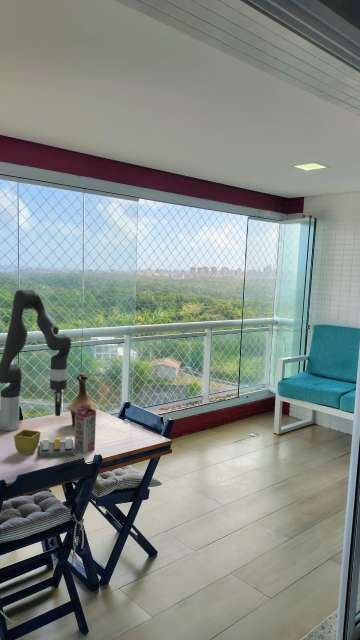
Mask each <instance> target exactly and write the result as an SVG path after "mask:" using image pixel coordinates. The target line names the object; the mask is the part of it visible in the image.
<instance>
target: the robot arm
mask: <svg viewBox="0 0 360 640" xmlns="http://www.w3.org/2000/svg"><path fill="white" fill-rule="evenodd" d="M24 310H34V311H35V312H36V314H37V317H36V324H37V326H38V329H39V330H40V331H41V333H42V334H43V336H44V339H45V341H46V345H47V347H48V349H50V350H51V351H58V352H57V354H54V355H52V356H51V358H50V371H49V389H50V390H53V391H54V392H53V403H54V408H55V409H54V415H55V416H56V417H60V416H61V408H62V403H63V397H64V396H63V395H64V393H63V391H62V390H66V389H67V386H68V370H67V366H68V365H67V364H68V357H69V354H70V350H71V347H72V340H71V337H70V335H68V334H66V333H63V334H62V333H61V334H59V331H60V330H59V327H58V325H57V324H56V323H55V321H54V320H53V319H52V317H51V316H50V314H49V313H48V310H47V308H46V306H45V304H44V302H43V300H42V297H41V295H40V294H39V292H38V291H36V290H35V289H19V290H17V291H16V292H15V294H14V297H13V300H12V310H11V317H10V323H9V327H8V330H7V334H6V340H5V343H4V344H5V345H4V349H3V353H2V357H1V359H0V384H8V385H7V386H6V387H4V388H2V389H1V390H0V431H3V432H4V431H6V432H10V431H16V430H18V429H19V428H20V396H21V395H20V393H21V392H20V391H21V387H22V386H21V385H22V376H23V375H22V369H21V368H22V367H21V366H20V365H19V364H17V363H16V364H15V363H13V361H14V359H16V357H17V356H18V355H19V353H21V352H22V350H23V349H24V347H25V345H26V342H27V337H28V330H27V327H26V324H25V323H24V321H23V314H24Z"/></svg>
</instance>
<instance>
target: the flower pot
mask: <svg viewBox="0 0 360 640" xmlns="http://www.w3.org/2000/svg"><path fill="white" fill-rule="evenodd" d="M41 434H42V433H41V431H40V430H31V429H21V431H19V432H18V433H15V434H14V435H13V438H14V439H13V440H14V447H15V449H16V452H18V454H20V455H21V454H22V455H27V456H28V455H31V454H33V453H34V452H35V451H36V450H37V448H38V446H39V445H40V441H41V440H40V438H41Z"/></svg>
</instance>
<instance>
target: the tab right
mask: <svg viewBox="0 0 360 640" xmlns="http://www.w3.org/2000/svg"><path fill="white" fill-rule="evenodd" d="M65 440H66V442H65V448H66V449H70V448H71V445H72V440H73V437H65Z"/></svg>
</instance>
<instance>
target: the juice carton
mask: <svg viewBox="0 0 360 640" xmlns="http://www.w3.org/2000/svg"><path fill="white" fill-rule="evenodd" d="M96 417H97V411H96V410H93V409H91V405H89V404H85V403H82V402H81V406H80V407H79V408H78V409H77V410H76V411H75V427H74V440H73V446H74V451H76V452H79V453H81V454H87V453H91V452H94V451H95V450H96V449H95V447H96V445H95V444H96V426H97V425H96V423H97V421H96V420H97V419H96Z"/></svg>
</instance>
